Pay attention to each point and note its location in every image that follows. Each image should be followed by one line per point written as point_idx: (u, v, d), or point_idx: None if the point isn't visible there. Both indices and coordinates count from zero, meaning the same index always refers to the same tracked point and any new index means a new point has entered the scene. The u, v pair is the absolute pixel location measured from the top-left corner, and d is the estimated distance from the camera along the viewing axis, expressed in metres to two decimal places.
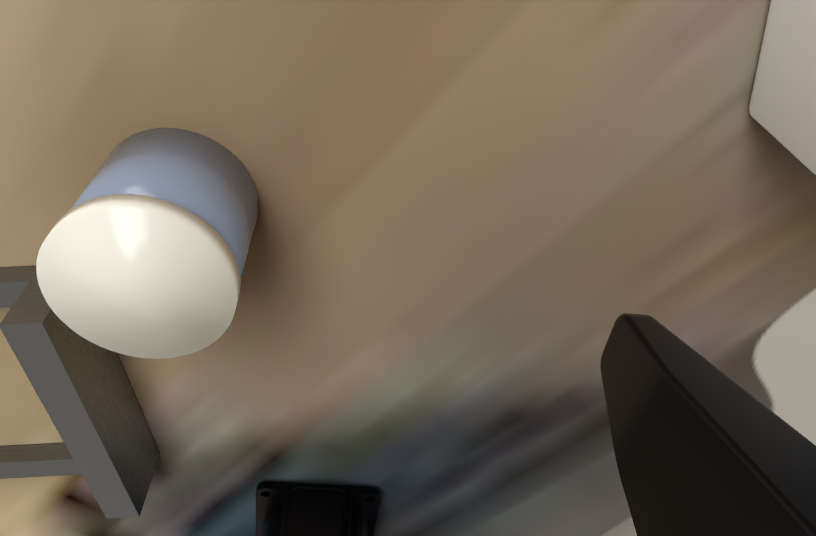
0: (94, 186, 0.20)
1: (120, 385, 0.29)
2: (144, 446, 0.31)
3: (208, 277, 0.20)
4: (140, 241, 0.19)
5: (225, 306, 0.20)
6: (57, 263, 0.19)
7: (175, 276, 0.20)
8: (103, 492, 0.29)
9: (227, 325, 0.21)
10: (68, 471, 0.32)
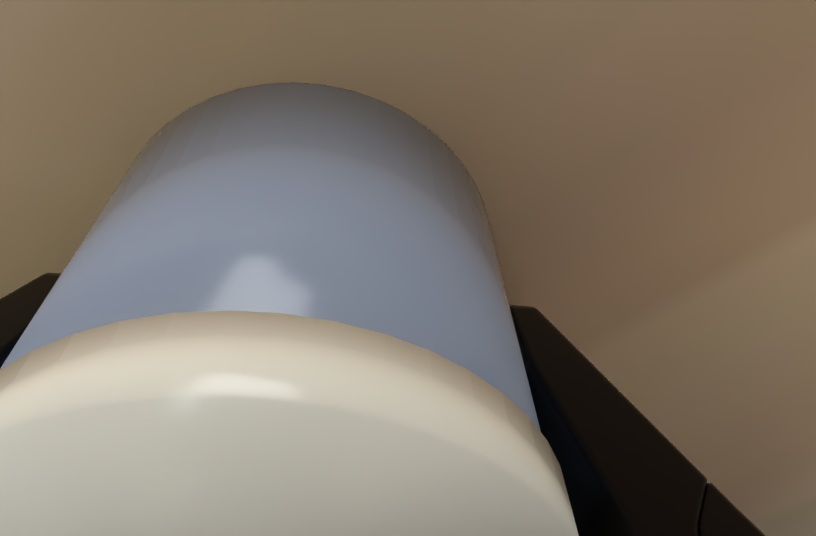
0: (141, 244, 0.06)
1: None
2: None
3: None
4: (327, 509, 0.05)
5: None
6: None
7: None
8: None
9: None
10: None
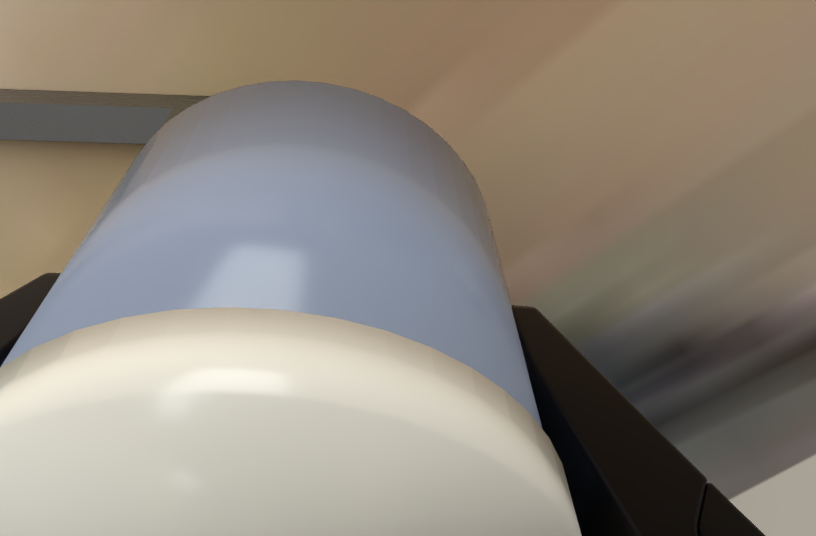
0: (143, 242, 0.06)
1: None
2: None
3: None
4: (329, 506, 0.05)
5: None
6: None
7: None
8: None
9: None
10: None
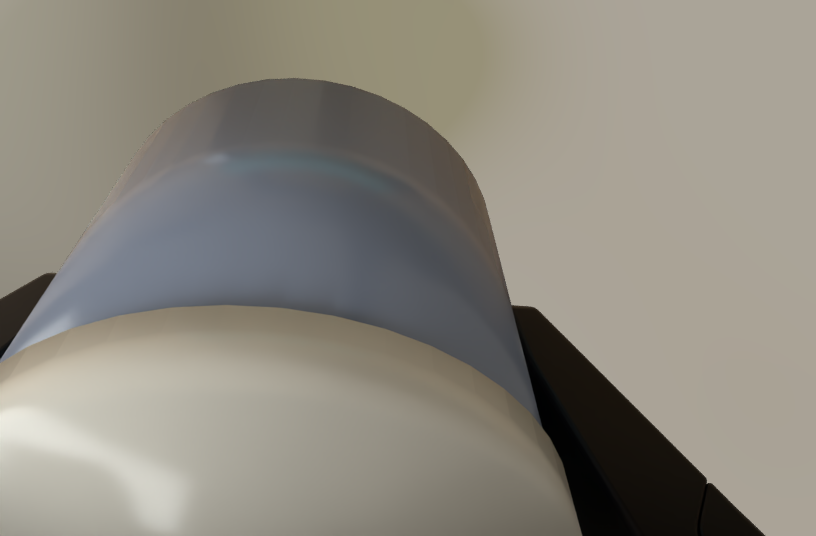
0: (140, 239, 0.06)
1: None
2: None
3: None
4: (328, 506, 0.05)
5: None
6: None
7: None
8: None
9: None
10: None
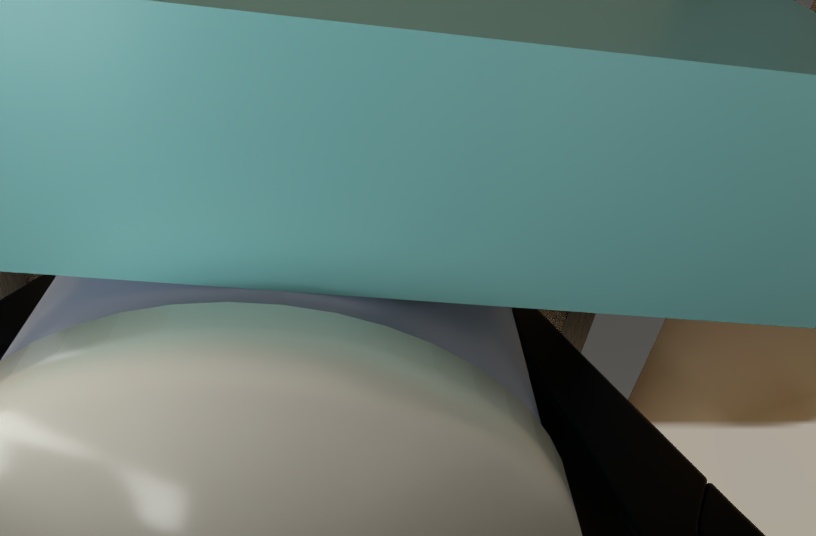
0: None
1: None
2: None
3: None
4: (328, 502, 0.05)
5: None
6: None
7: None
8: None
9: None
10: None
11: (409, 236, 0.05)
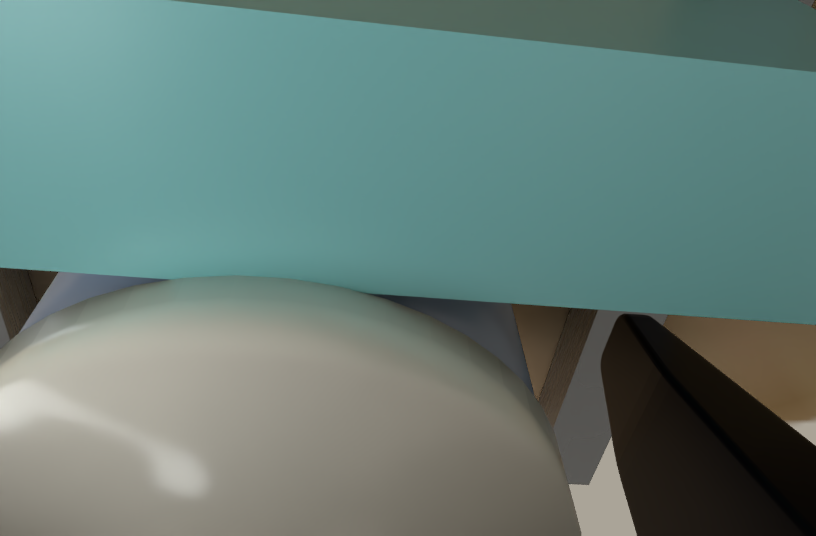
0: None
1: None
2: None
3: None
4: (331, 465, 0.05)
5: None
6: None
7: None
8: None
9: None
10: None
11: (413, 232, 0.05)
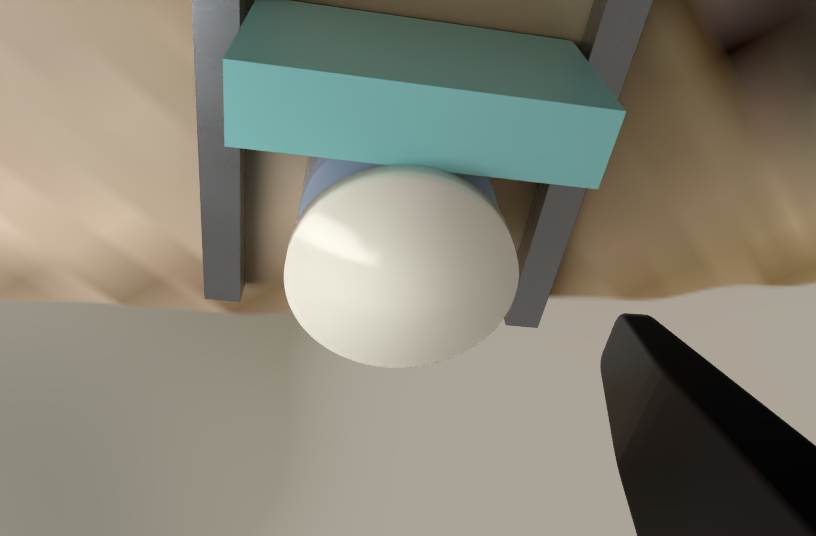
0: None
1: None
2: None
3: (491, 281, 0.16)
4: (436, 227, 0.15)
5: (491, 318, 0.17)
6: (322, 237, 0.15)
7: (453, 274, 0.16)
8: None
9: (480, 339, 0.17)
10: None
11: (465, 151, 0.15)
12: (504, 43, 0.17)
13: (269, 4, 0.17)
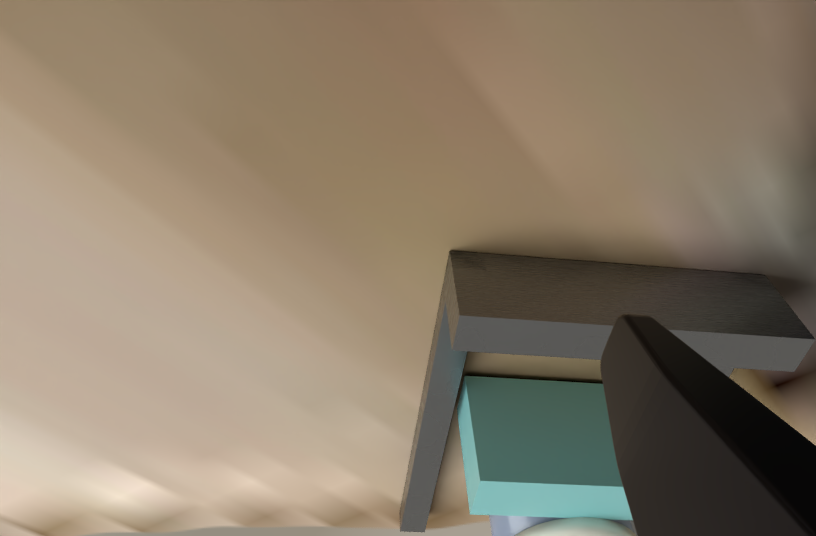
0: None
1: (622, 275, 0.23)
2: (731, 287, 0.23)
3: None
4: None
5: None
6: None
7: None
8: (745, 357, 0.22)
9: None
10: (725, 372, 0.26)
11: (618, 510, 0.24)
12: None
13: (476, 387, 0.26)
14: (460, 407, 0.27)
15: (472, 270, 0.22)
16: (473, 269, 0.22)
